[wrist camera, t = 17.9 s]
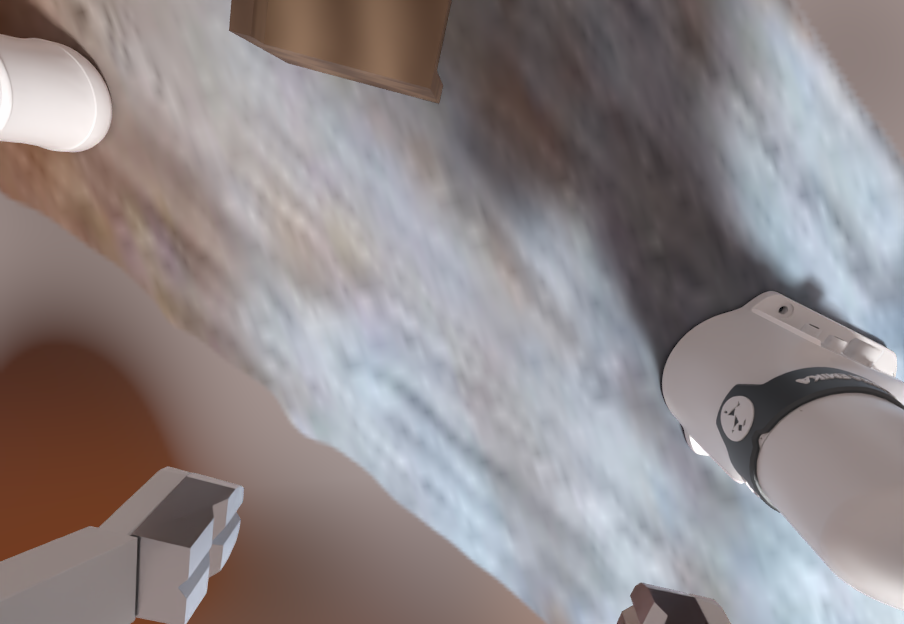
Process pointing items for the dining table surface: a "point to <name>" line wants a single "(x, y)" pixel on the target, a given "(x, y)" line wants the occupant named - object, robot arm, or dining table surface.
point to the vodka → (51, 96)
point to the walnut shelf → (353, 38)
